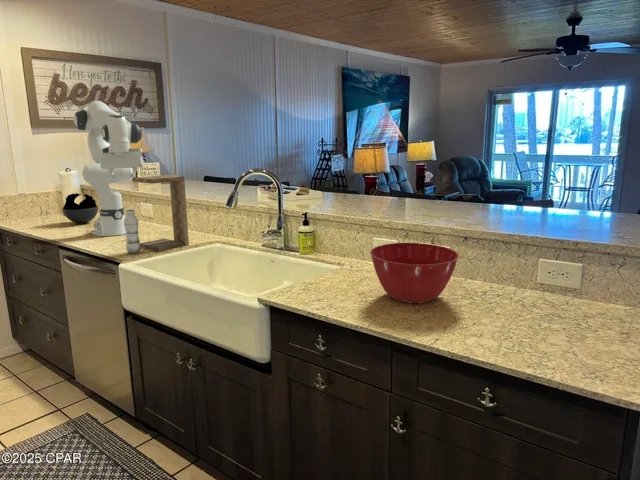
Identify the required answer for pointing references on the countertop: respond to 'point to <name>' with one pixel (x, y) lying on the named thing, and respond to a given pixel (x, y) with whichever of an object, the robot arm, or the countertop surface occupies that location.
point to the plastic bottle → (131, 232)
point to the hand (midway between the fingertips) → (123, 177)
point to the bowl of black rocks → (80, 209)
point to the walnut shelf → (177, 213)
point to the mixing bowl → (413, 270)
